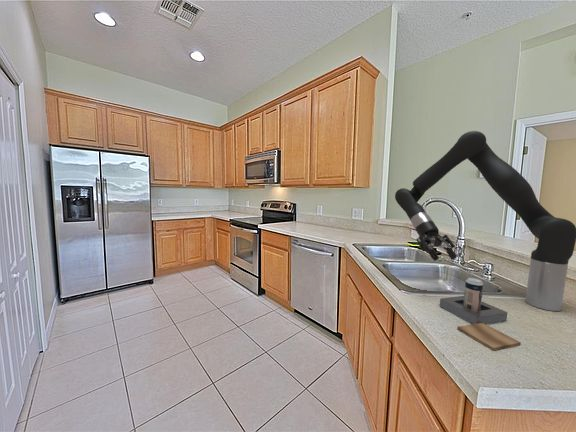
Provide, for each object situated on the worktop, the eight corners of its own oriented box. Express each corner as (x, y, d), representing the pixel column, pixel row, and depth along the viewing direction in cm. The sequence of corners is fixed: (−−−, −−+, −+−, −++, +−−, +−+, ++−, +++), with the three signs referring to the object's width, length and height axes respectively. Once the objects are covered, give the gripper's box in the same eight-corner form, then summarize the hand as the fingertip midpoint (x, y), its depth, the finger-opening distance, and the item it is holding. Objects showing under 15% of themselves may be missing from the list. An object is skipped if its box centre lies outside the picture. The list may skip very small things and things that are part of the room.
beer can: (483, 317, 78) (487, 283, 77) (467, 316, 79) (470, 281, 78) (474, 310, 83) (478, 277, 82) (459, 309, 84) (462, 276, 83)
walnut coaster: (482, 325, 74) (482, 322, 74) (520, 345, 64) (520, 342, 64) (457, 329, 71) (457, 326, 71) (493, 350, 62) (493, 347, 62)
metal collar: (467, 302, 89) (467, 295, 89) (506, 321, 76) (507, 312, 76) (439, 306, 86) (440, 298, 85) (476, 326, 73) (477, 316, 73)
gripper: (415, 220, 96) (437, 255, 86) (443, 219, 99) (467, 253, 89) (405, 230, 101) (424, 264, 91) (431, 230, 105) (453, 262, 95)
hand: (445, 259), depth 90 cm, fingers open, 8 cm apart
